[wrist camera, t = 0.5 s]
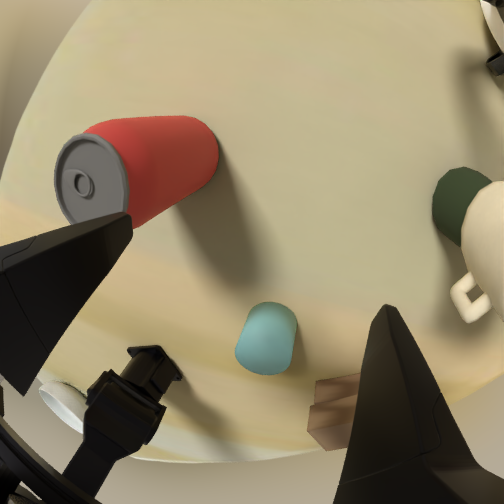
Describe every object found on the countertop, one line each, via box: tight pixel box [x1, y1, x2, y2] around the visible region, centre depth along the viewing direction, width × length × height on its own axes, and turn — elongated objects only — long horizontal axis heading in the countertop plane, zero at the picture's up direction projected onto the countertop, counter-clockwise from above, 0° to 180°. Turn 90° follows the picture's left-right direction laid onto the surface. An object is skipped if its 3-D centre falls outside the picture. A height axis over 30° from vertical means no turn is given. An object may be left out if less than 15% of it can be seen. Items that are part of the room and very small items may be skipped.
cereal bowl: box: [39, 381, 88, 434], centre depth 51 cm, size 17×17×7 cm
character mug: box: [433, 167, 504, 323], centre depth 13 cm, size 11×7×13 cm, turn 138°
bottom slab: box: [314, 373, 361, 405], centre depth 29 cm, size 6×6×4 cm
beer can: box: [54, 116, 219, 229], centre depth 17 cm, size 7×7×12 cm
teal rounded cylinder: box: [235, 302, 297, 375], centre depth 26 cm, size 5×5×5 cm
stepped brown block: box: [307, 395, 358, 451], centre depth 26 cm, size 6×6×4 cm
